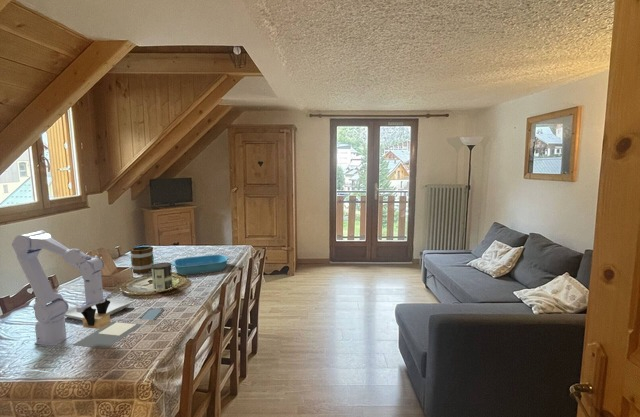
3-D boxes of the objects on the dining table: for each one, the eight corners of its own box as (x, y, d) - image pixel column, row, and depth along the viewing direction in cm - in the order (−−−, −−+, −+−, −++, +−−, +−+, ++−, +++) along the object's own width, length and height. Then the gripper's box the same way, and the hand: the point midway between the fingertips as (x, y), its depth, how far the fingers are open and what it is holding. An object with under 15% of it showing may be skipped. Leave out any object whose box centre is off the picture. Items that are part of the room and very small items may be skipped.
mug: (153, 272, 220) (151, 249, 219) (129, 274, 216) (128, 251, 214) (156, 263, 239) (154, 243, 237) (134, 266, 234) (133, 244, 232)
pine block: (83, 327, 132) (82, 317, 131) (93, 322, 136) (92, 312, 136) (101, 329, 130) (100, 319, 130) (110, 323, 135) (109, 314, 134)
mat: (72, 346, 131) (72, 344, 131) (112, 322, 150) (112, 321, 150) (106, 349, 128) (106, 348, 128) (142, 325, 148) (142, 324, 148)
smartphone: (134, 323, 149) (148, 308, 164) (134, 325, 149) (148, 310, 164) (152, 322, 149) (164, 308, 164) (152, 324, 150) (164, 309, 164)
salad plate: (59, 319, 154) (58, 312, 154) (103, 301, 174) (102, 295, 173) (92, 327, 147) (91, 319, 146) (134, 307, 167) (133, 301, 166)
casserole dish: (226, 262, 244) (226, 252, 243) (232, 270, 224) (232, 260, 223) (170, 269, 228) (170, 258, 227) (172, 279, 208) (171, 267, 207)
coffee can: (170, 284, 198) (169, 261, 196) (174, 290, 189) (173, 265, 187) (151, 288, 192) (149, 264, 190) (154, 293, 184) (152, 268, 182)
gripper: (86, 296, 123) (90, 332, 125) (117, 283, 138) (119, 315, 139) (70, 295, 125) (73, 330, 126) (102, 282, 139) (104, 313, 141)
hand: (96, 322), depth 133 cm, fingers closed on pine block, 4 cm apart
